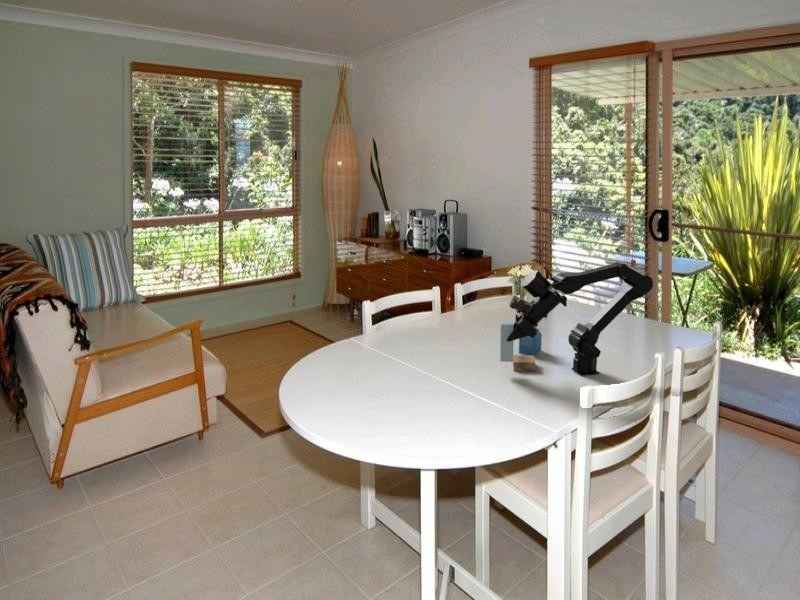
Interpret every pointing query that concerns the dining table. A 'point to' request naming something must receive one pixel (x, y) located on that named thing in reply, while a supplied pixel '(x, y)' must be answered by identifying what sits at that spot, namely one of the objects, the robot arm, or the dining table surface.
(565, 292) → the robot arm
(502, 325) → the slate-blue post
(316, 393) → the dining table surface
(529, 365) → the walnut plinth
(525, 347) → the perfume bottle
